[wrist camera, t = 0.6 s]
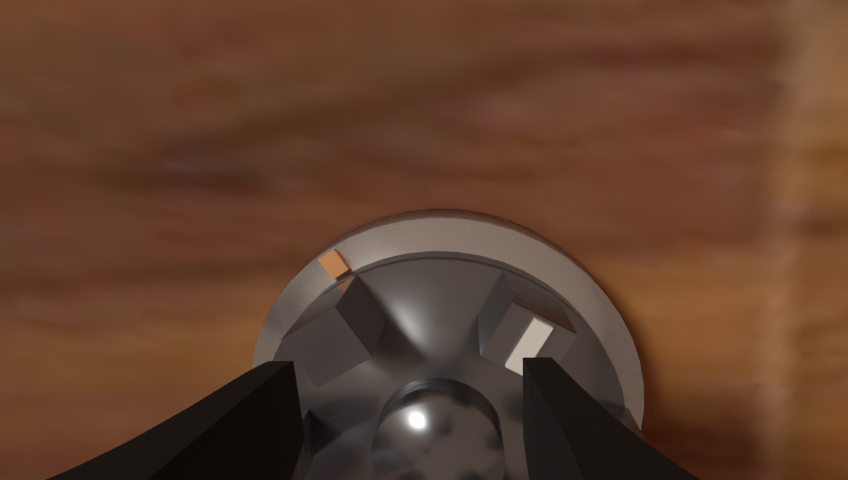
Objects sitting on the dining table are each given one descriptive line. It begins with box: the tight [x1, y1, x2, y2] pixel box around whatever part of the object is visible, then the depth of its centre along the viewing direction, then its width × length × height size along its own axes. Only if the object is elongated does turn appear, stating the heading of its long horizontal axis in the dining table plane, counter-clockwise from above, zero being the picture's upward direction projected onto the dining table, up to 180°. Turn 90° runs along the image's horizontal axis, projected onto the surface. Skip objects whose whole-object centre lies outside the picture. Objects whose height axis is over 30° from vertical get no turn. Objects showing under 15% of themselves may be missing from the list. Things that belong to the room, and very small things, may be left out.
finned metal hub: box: [273, 251, 648, 480], centre depth 18 cm, size 15×15×4 cm
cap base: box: [252, 209, 644, 430], centre depth 21 cm, size 17×17×2 cm
